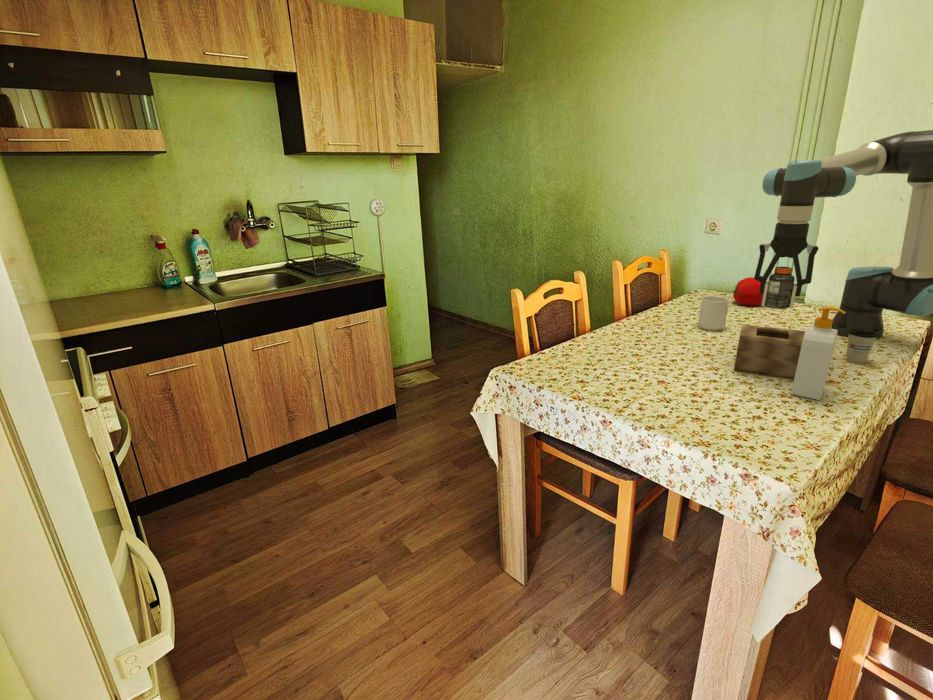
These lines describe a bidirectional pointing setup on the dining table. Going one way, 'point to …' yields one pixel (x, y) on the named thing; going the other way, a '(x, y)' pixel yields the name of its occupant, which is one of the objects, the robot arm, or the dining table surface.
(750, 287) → the tomato
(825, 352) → the soap bottle
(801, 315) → the dining table surface
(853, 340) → the coffee cup
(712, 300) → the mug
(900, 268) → the robot arm
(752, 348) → the deposit box
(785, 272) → the pill bottle
